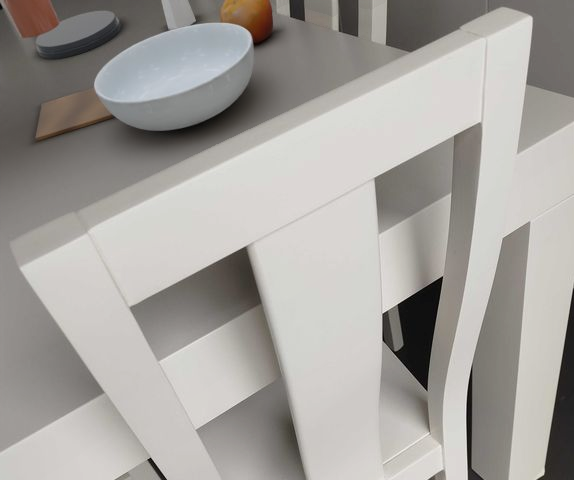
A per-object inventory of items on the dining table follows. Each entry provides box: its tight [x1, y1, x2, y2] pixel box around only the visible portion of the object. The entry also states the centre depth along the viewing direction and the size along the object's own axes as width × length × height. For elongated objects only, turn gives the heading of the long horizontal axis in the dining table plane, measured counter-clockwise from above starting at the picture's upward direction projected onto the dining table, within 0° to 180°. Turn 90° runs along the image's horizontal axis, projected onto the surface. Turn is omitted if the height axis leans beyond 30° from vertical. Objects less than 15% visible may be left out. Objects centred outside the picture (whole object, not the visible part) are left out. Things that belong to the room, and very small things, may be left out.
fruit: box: [219, 0, 274, 44], centre depth 90 cm, size 8×8×8 cm
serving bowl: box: [93, 22, 255, 132], centre depth 77 cm, size 21×21×7 cm
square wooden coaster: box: [34, 87, 116, 142], centre depth 87 cm, size 12×12×1 cm
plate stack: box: [35, 10, 122, 60], centre depth 109 cm, size 16×16×2 cm
